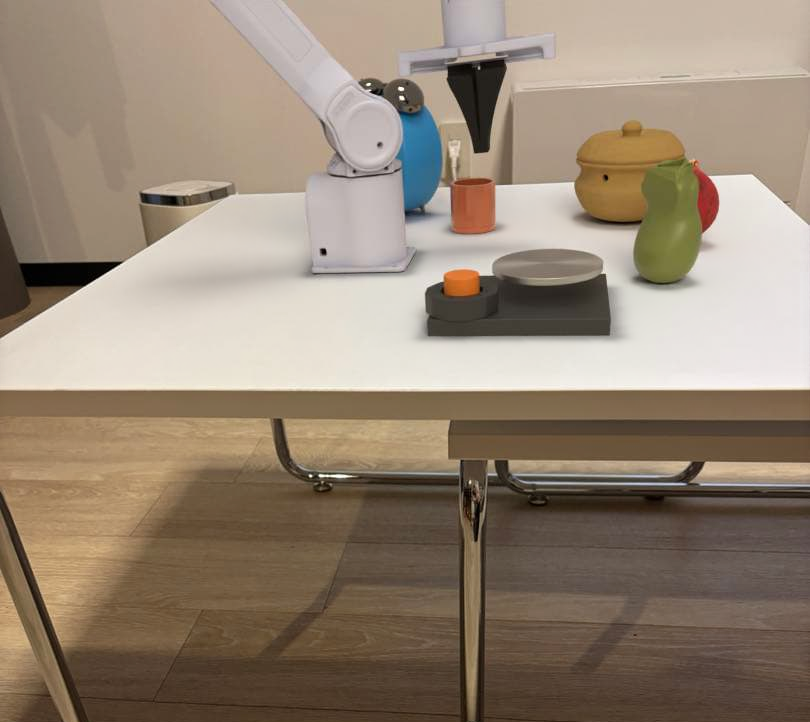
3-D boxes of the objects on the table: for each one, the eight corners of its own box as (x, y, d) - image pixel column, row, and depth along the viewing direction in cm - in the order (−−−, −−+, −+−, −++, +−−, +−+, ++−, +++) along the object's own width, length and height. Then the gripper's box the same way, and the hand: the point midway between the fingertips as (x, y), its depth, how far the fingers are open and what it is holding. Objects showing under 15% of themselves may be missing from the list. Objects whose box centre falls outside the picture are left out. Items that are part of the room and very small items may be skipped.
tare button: (441, 299, 64) (441, 279, 63) (446, 288, 67) (445, 269, 66) (477, 299, 64) (477, 279, 63) (481, 288, 66) (480, 268, 65)
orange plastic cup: (449, 234, 93) (447, 187, 90) (454, 224, 97) (453, 178, 94) (493, 233, 92) (493, 185, 89) (497, 222, 96) (497, 176, 93)
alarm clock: (446, 215, 101) (441, 75, 93) (408, 225, 98) (399, 81, 90) (381, 203, 110) (371, 74, 102) (343, 212, 107) (330, 80, 98)
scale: (422, 338, 65) (420, 300, 63) (443, 291, 75) (441, 257, 73) (609, 338, 62) (612, 298, 61) (604, 289, 72) (607, 254, 71)
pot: (552, 224, 94) (556, 126, 88) (604, 203, 101) (610, 112, 95) (648, 235, 87) (658, 130, 82) (696, 212, 94) (708, 114, 89)
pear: (707, 282, 72) (724, 158, 67) (664, 294, 70) (678, 167, 65) (659, 269, 76) (672, 151, 71) (617, 281, 74) (626, 160, 69)
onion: (716, 253, 79) (728, 163, 75) (654, 254, 81) (663, 166, 76) (710, 238, 84) (721, 153, 80) (651, 239, 85) (659, 155, 81)
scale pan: (487, 287, 65) (487, 279, 65) (496, 256, 72) (496, 249, 72) (604, 285, 63) (605, 277, 63) (601, 254, 71) (601, 247, 70)
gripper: (383, -1, 72) (402, 166, 79) (552, -25, 69) (555, 151, 76) (399, -4, 78) (415, 152, 85) (555, -27, 74) (557, 138, 82)
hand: (482, 151), depth 81 cm, fingers closed
